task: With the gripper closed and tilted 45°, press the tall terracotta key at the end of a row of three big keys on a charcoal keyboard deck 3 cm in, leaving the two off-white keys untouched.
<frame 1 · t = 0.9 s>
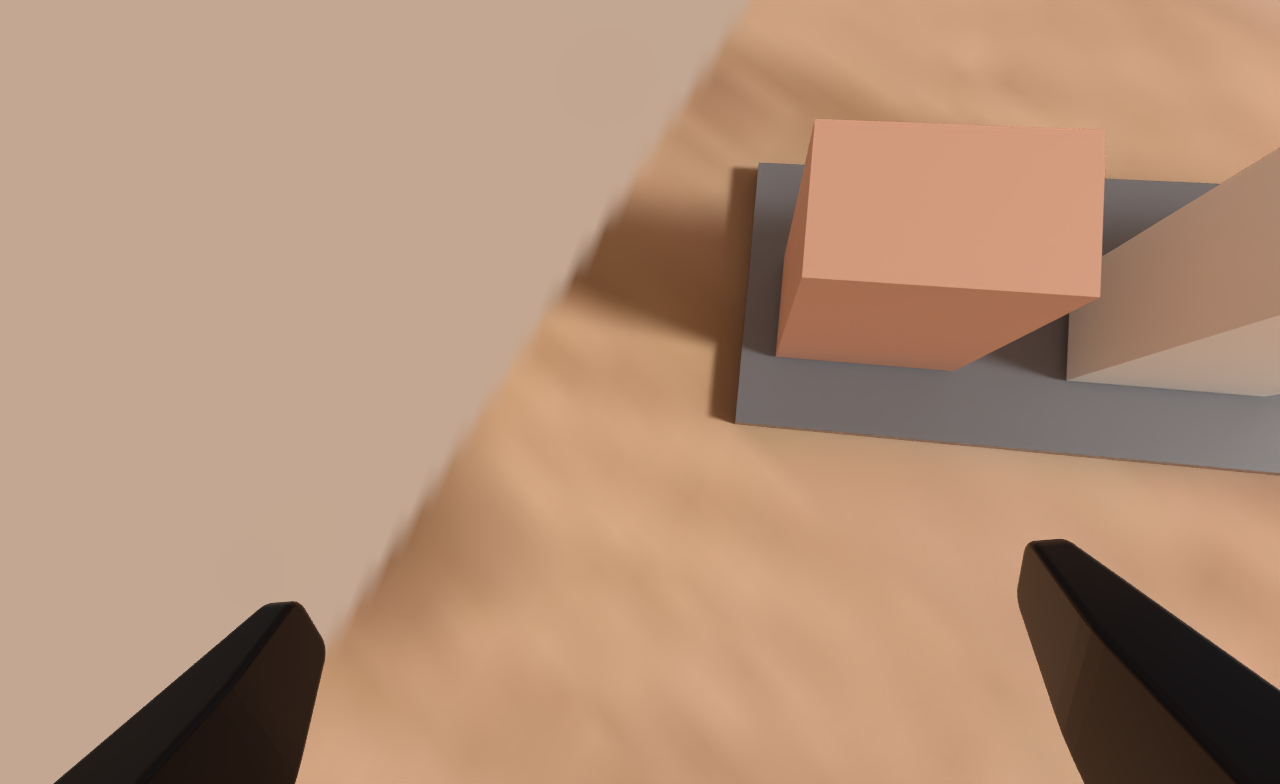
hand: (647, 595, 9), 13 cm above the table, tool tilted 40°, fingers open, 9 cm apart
terracotta key: (899, 272, 17), point 5 cm above the table, slide at 0.0 cm
middle key: (1276, 296, 16), point 5 cm above the table, slide at 0.0 cm
keyboard deck: (1145, 324, 21), on the table
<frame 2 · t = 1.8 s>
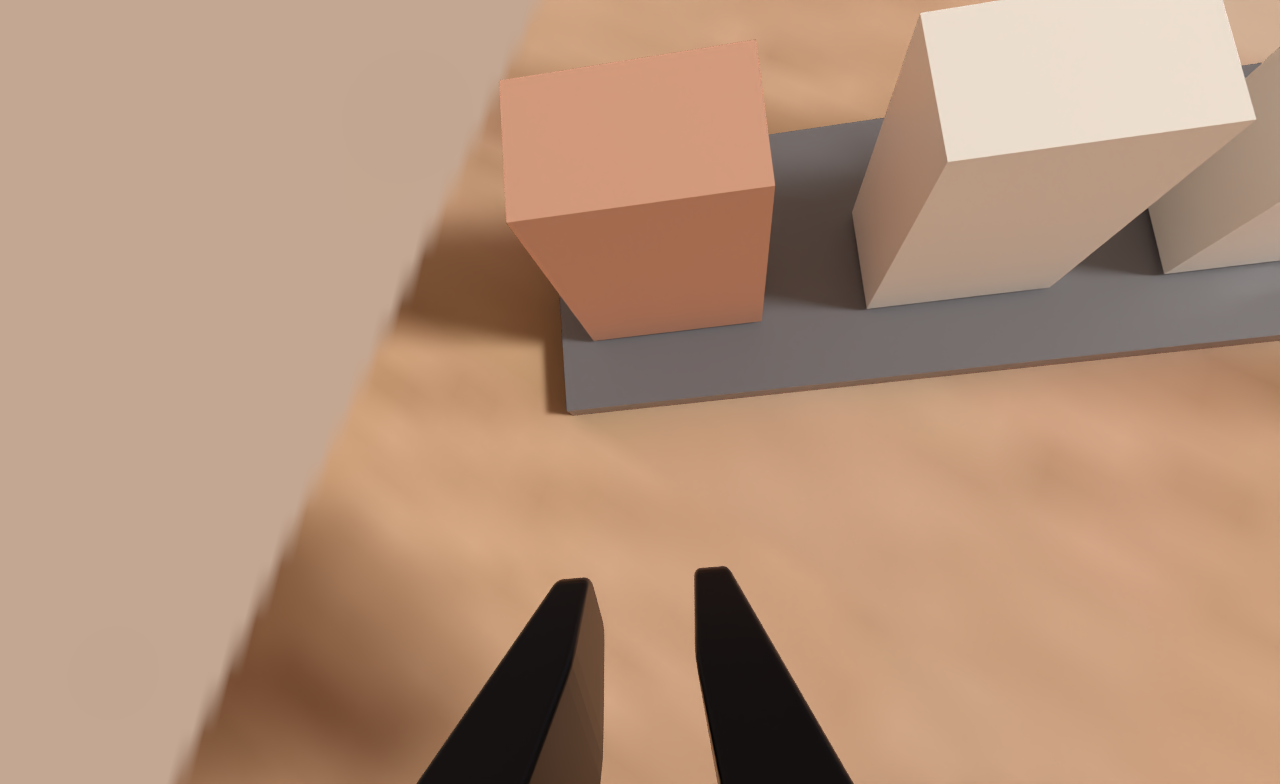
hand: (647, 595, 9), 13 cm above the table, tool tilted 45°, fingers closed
terracotta key: (656, 224, 18), point 5 cm above the table, slide at 0.0 cm
middle key: (998, 178, 17), point 5 cm above the table, slide at 0.0 cm
keyboard deck: (936, 246, 22), on the table
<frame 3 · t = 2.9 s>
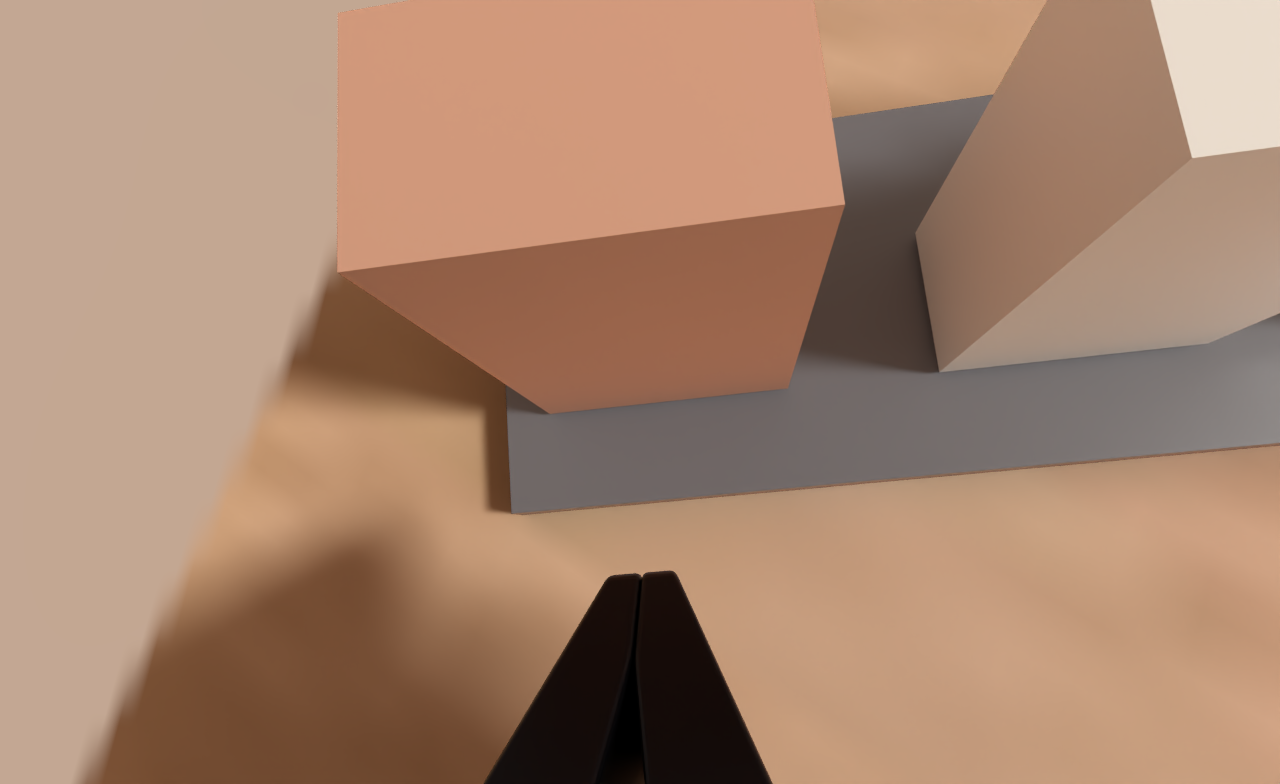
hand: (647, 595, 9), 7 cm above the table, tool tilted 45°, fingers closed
terracotta key: (631, 258, 12), point 5 cm above the table, slide at 0.0 cm
middle key: (1177, 187, 11), point 5 cm above the table, slide at 0.0 cm
keyboard deck: (1031, 279, 16), on the table
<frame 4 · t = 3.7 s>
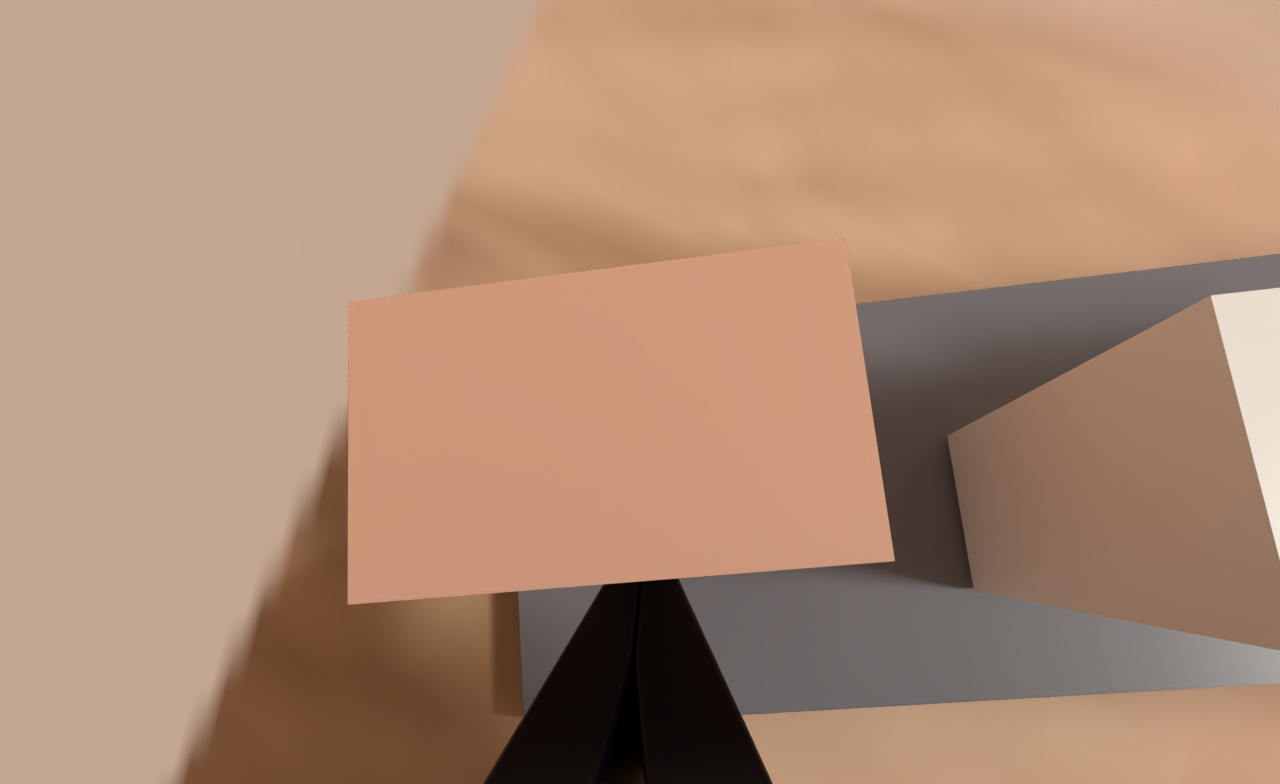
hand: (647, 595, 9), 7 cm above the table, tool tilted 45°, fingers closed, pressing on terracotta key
terracotta key: (651, 466, 11), point 5 cm above the table, slide at 1.0 cm, touching gripper
middle key: (1242, 481, 10), point 5 cm above the table, slide at 0.0 cm
keyboard deck: (1068, 478, 15), on the table
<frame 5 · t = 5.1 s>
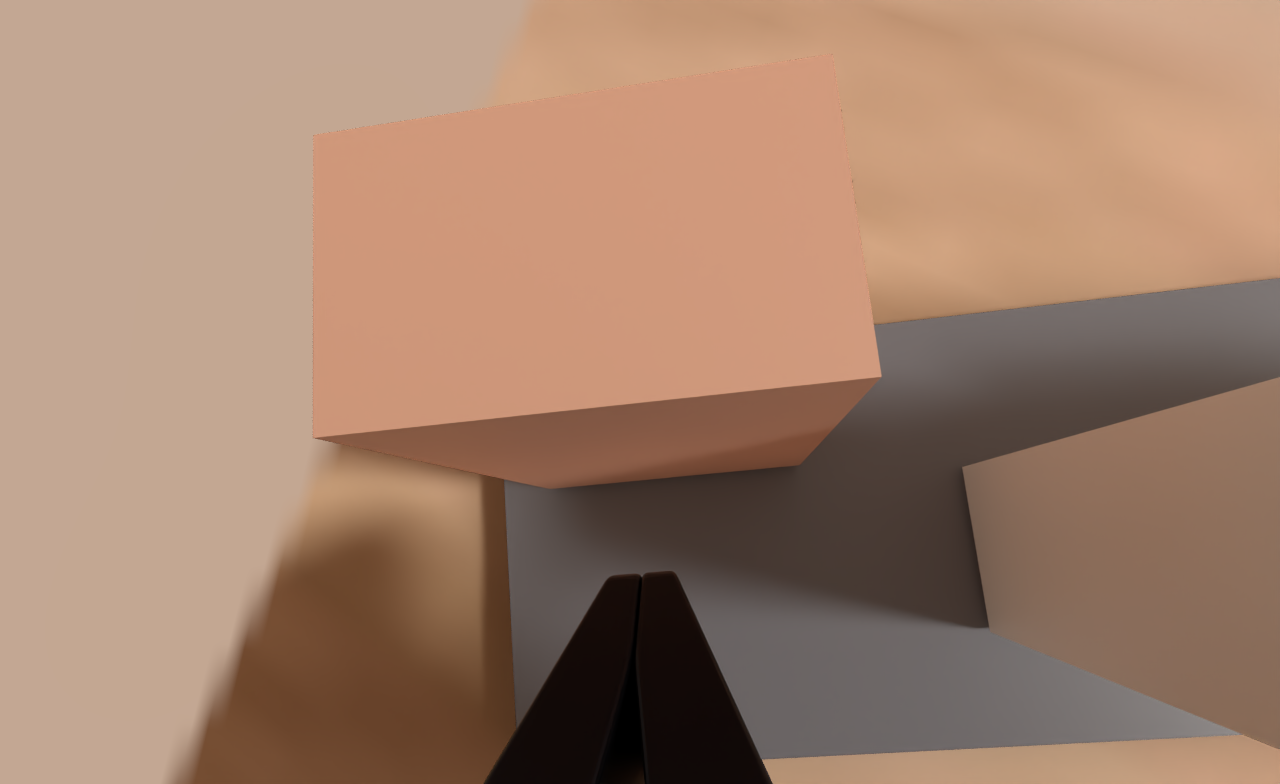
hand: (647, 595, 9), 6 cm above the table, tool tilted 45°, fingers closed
terracotta key: (636, 354, 11), point 5 cm above the table, slide at 3.3 cm
keyboard deck: (1088, 509, 14), on the table
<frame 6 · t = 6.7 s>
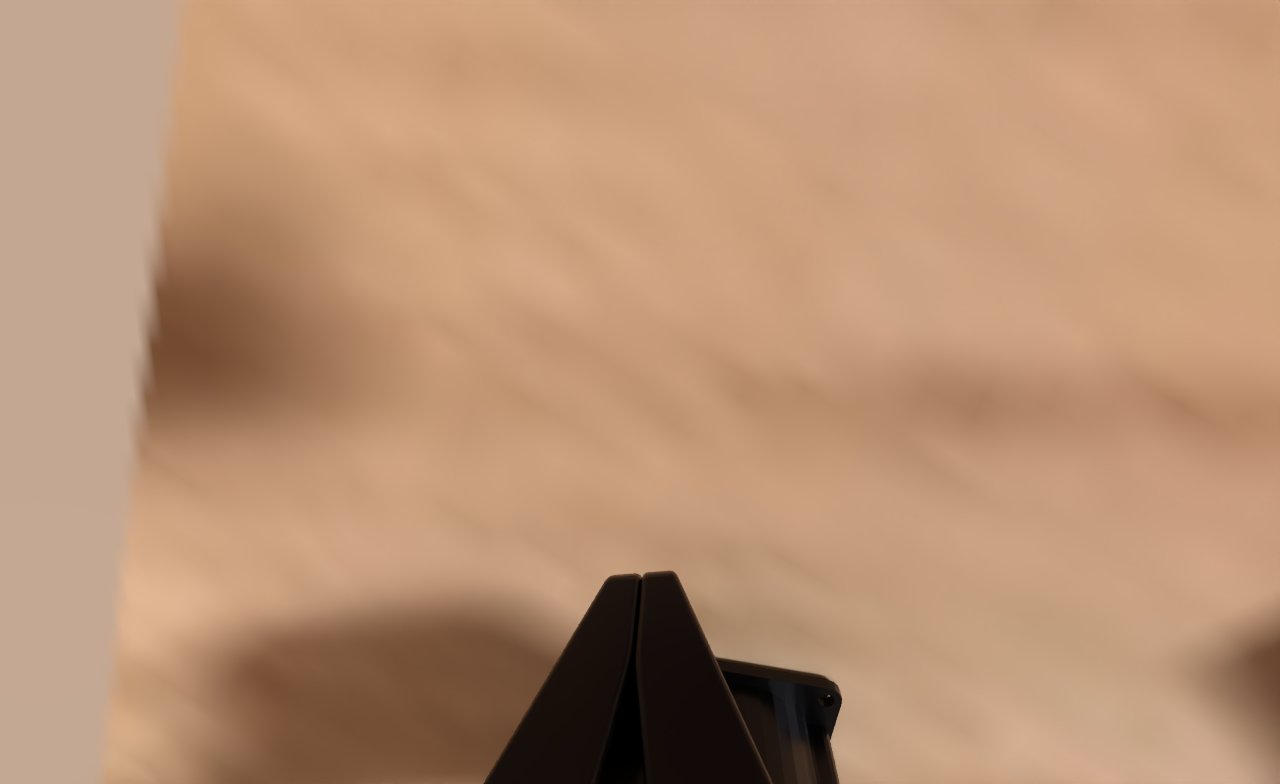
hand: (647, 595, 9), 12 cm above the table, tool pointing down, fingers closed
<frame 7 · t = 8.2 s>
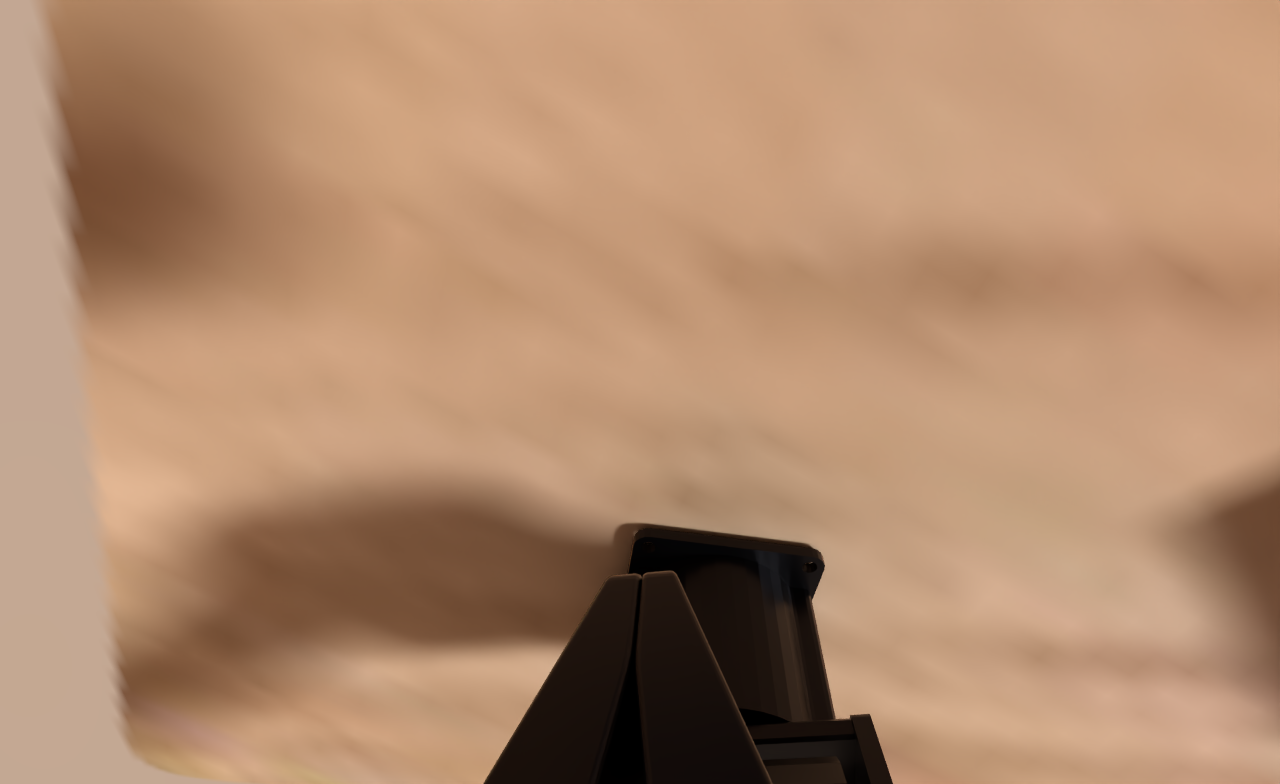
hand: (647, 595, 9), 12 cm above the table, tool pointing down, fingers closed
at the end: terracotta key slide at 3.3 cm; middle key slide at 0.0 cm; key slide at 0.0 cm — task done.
